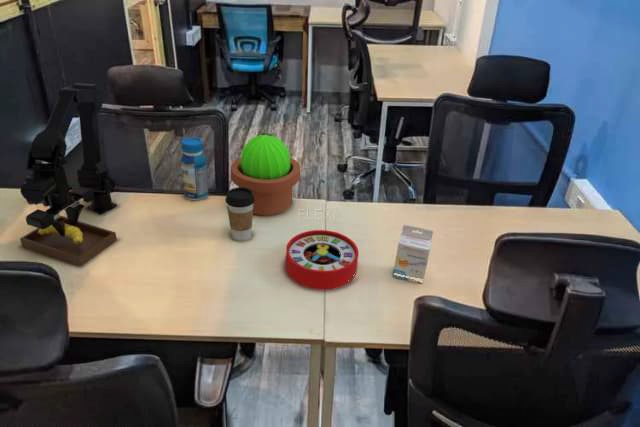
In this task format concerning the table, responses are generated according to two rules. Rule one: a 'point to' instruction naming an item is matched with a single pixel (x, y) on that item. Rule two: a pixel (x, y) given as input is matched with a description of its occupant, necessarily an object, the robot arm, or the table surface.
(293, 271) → the toy clock
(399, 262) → the ink box
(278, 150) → the potted cactus
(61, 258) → the tray
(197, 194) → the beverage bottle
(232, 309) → the table surface
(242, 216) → the coffee cup
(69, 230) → the banana
